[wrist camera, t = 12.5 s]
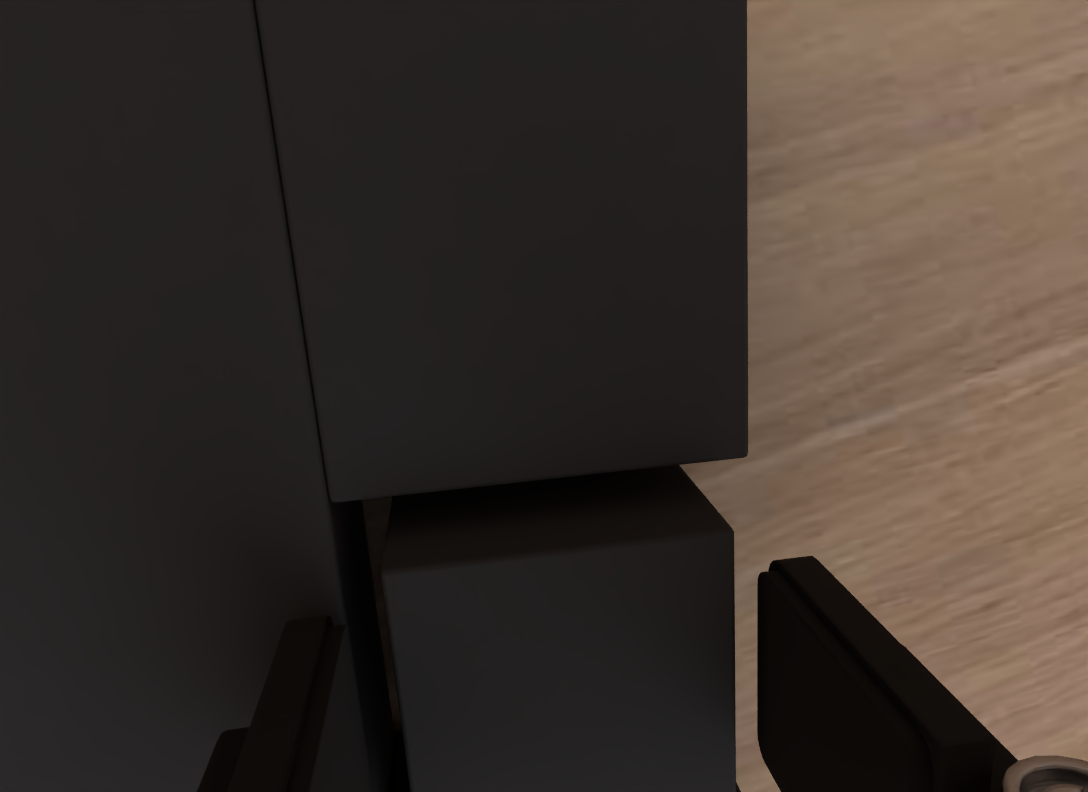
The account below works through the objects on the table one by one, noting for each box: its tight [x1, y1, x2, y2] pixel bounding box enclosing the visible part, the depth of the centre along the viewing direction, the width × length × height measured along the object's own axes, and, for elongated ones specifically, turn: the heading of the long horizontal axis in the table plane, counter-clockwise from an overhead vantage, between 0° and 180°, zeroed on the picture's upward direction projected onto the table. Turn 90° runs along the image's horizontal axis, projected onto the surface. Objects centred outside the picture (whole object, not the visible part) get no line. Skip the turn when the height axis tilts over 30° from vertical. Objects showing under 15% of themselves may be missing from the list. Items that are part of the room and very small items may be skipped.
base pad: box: [0, 0, 748, 792], centre depth 12 cm, size 18×18×3 cm
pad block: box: [381, 465, 736, 792], centre depth 13 cm, size 4×4×4 cm
